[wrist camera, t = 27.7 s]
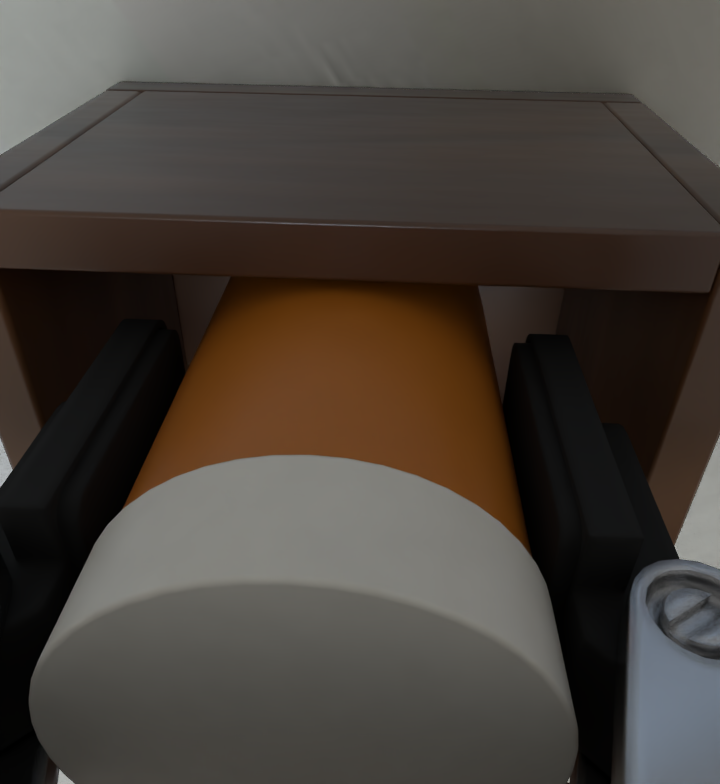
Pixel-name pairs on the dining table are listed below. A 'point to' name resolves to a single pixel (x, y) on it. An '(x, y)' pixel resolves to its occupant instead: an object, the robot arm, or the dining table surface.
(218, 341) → the pill bottle
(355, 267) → the chest
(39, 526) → the robot arm
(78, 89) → the dining table surface
